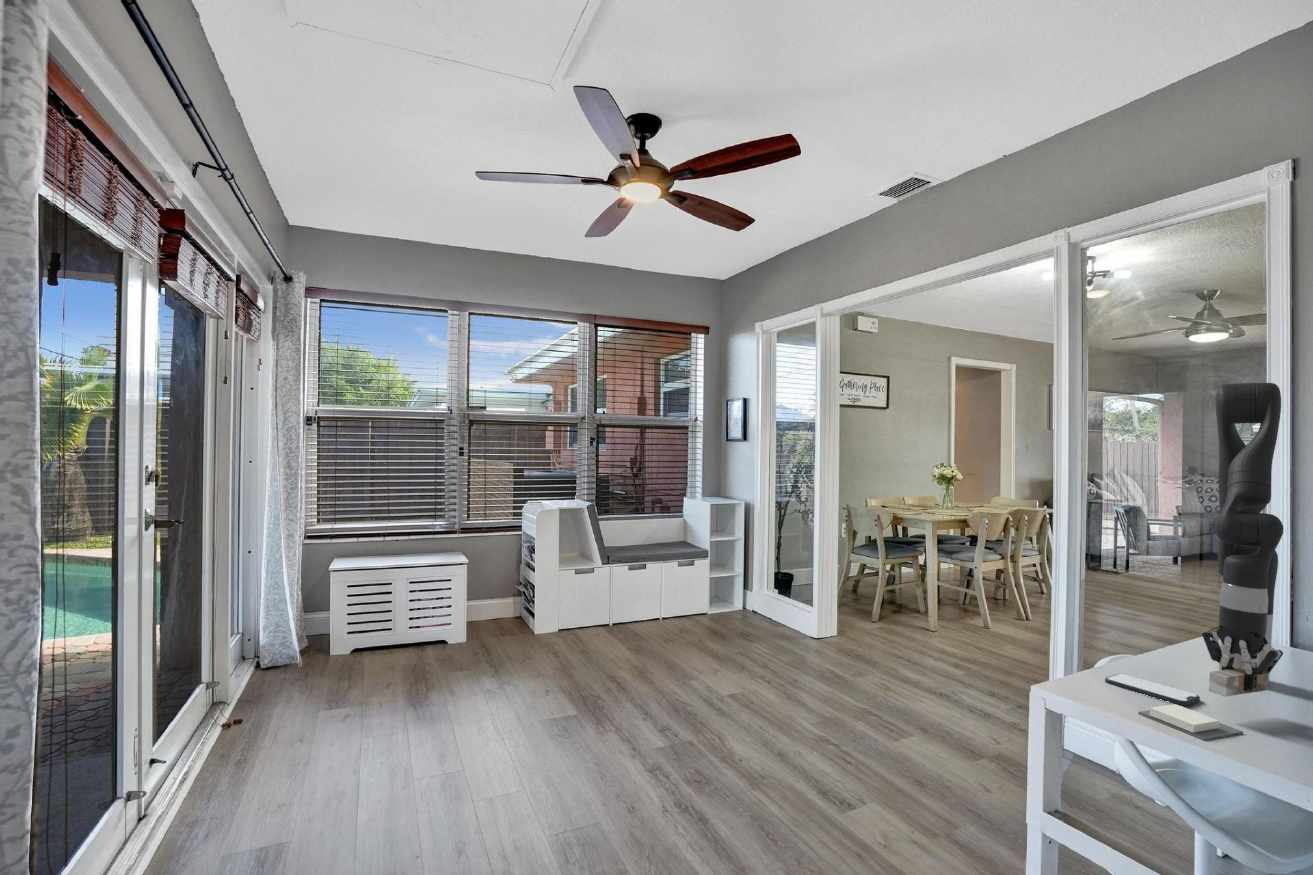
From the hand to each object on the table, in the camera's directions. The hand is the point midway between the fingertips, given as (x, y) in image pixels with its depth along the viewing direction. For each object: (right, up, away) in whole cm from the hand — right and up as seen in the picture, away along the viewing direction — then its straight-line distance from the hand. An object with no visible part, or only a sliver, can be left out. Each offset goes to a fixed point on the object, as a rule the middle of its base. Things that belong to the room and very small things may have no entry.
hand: (1238, 687), depth 138 cm
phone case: (-10, -6, +11) cm, 16 cm away
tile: (-13, -4, -5) cm, 15 cm away
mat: (-15, -5, -6) cm, 17 cm away
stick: (0, -1, 0) cm, 1 cm away
